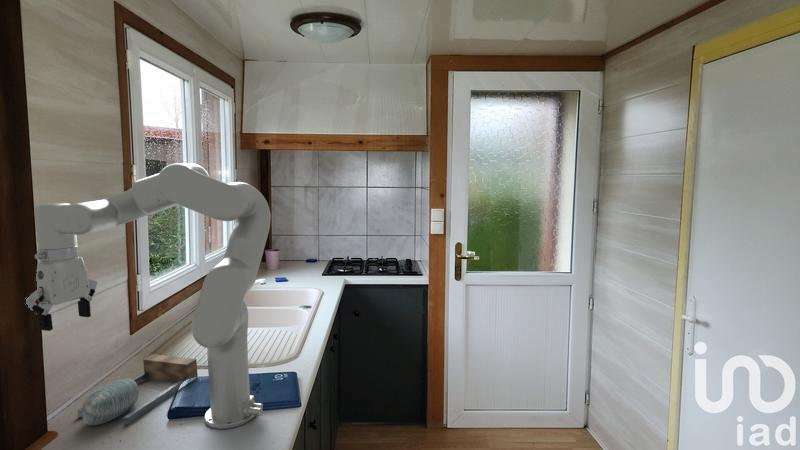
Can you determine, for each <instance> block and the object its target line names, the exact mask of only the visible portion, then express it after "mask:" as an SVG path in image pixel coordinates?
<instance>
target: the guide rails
mask: <svg viewBox="0 0 800 450" xmlns="http://www.w3.org/2000/svg"><path fill="white" fill-rule="evenodd" d="M132 380H133V381H135V382H136V384H137V385H138V386H139V385H141V384H142V383H144V382H145V381H147V380H149V379H148V373H147V372H144V371H143V372H142V373H140V374H139V375H137V376H135V377H133V378H132ZM186 380H188V378H187V377H184V378H183V379H181V380H180V381H178V382H177V383H176V382H174V384H172V385H171V386H169V387H168V388H166V389H165V390H163V391H162V392H160V393H158V394H157V395H156V396H153V397H152V398H151V399H149V400H148V401H146V402H144V403H143V404H142V405H140V406H137V408H136V409H134V410H132V411H131V412H129V413H128V414H126V415H125V416H123V425H124V426H129V425H131V424H132V423H134V422H135V421H137V420H138V419H140V418H141V417H143V416H144V415H146V414H148V412H150V411H152V410H153V409H155V408H156V407H157V406H159V405H161V404H162V403H163V402H164V401H166V400H167V399H168V400H169V398H170V397H172V396H173V395H175V394H176V393H177V392H176V391H177V390H178V388H179V386H180V385H181V384H182V383H183V382H184V381H186ZM76 411H77V417H79V418H80V419H83V418H82V407H80V408H79V409H77V410H76Z"/></svg>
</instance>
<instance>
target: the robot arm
mask: <svg viewBox="0 0 800 450" xmlns="http://www.w3.org/2000/svg"><path fill="white" fill-rule="evenodd" d="M176 206H181V207H184V208H187V209H188V210H190V211H193V212H196V213H198V214H201V215H203V216H206V217H208V218H212V219H213V220H215V221H220V222H233V221H234V226H233V227H232V230H231V234H230V236H229V239H228V243H227V245H226V249H225V251H224V255H223V258H222V260H221V261H220V262H219V263H218V264H216V265H214V266H213V267H212V268H211V269H210V270H209V271H208V273H207V275H206V276H205V278H204V280H203V283H202V287H201V289H200V293H199V296H198V299H197V303H196V306H195V310H194V313H193V316H192V319H191V320H192V321H191V333H192V337H193V339H194V340H195V342H196V343H197V344H199V346H201V347H202V348H206V349H207V351H206V352H207V370H208V371H207V373H208V383H209V385H208V386H209V387H208V388H209V401H210V402H209V403H210V408H209V409H208V410H206V412H205V414H204V422H205V424H206V425H207V426H208V427H210V428H212V429H220V430H221V429H222V430H223V429H233V428H236V427H239V426H242V425H245V424H247V423H248V422H250V421H252V420H253V419H254V418H255V417H256V416H257V417H261V416H262V415H263V409H264V403H262V402H255V396H254V395H251V392H250V390H251V388H250V373H249V371H250V370H249V353H248V352H249V350H248V349H249V347H248V345H249V344H248V331H249V330H248V329H249V311H248V306H247V304H246V302H245V301H244V299H245V296H246V294H248V292H249V291H250V290H251V289H252V288H253V286H254V284H255V283H256V282H257V281H256V280H257V275H258V272H259V268H260V265H261V261H262V258H263V254H264V251H265V247H266V243H267V241H268V240H267V239H268V236H269V232H270V227H271V211H270V210H271V209H270V207H269V203H268V201H267V200H266V198H265V196H264V195H263V194H262V193H261V192H260V191H259V190H258V189H257V187H255V186H253V185H251V184H249V183H246V182H244V181H243V182H242V181H235V182H233V181H232V182H229V183H228V182H227V183H226V182H223V181H220V180H219V179H215V178H213V177H210V175H209V173H208V171H207V170H206V169H205V168H204V167H203V166H201V165H199V164H196V163H192V162H187V163H185V162H183V163H182V162H181V163H180V162H178V163H177V162H176V163H172V164H169V165H166V166H165V167H164V168H162V169H161V170H160V171H159V173H155V174H153V175H150V176H146V177H144V178H141V179H138V180H136V181H134V182H133V183H132V185H131V188H129V189H127V190H126V191H122V192H120V193H117V194H115V195H111V196H109V197H106V198H102V199H97V200H91V201H84V202H77V203H68V202H47V203H46V202H45V203H39V204H37V205H36V206H35V207H34V210H33V211H34V219H35V228H36V240H37V247H38V250H37V251H38V253H36V254H34V258H35V259H36V260H39V262H37V266H36V272H37V273H36V274H35V275H36V277H35V282H36V281H37V290H36V289H35V290H34V291H33V292H31V294H30V296H29V295H28V296H29V297H28V296H27V297H28V298H27V297H26V298H27V299H26V298H25V299H26V304H27V305H28V307H27V308H28V309H29V308H30V310H29V311H31V312H32V311H33V312H32V313H34V314H35V313H36V314H35V315H37V318H38V319H37V320H38V327H39V329H40V331H47V332H50V331H52V330H54V329H53V327H54V326H53V319H52V318H53V317H52V314H51V313H50V311H51V310H52V308H53V306H55V305H57V306H58V305H61V304H65V303H68V302H69V303H70V302H71V301H74V300H77V299H78V301H77V310H78V317H80V318H81V317H82V318H90V317H92V316H91V315H92V314H91V304H90V303H91V302H92V299H93V296H94V295H95V293H96V290H95V289H96V288H97V285H98V281H97V280H94V279H89V277H88V276H89V275H88V272H87V267H86V264H85V262H84V259H83V257H82V256H79V247H78V239H77V236H86V235H91V234H95V233H97V232H102V231H106V230H111V229H113V228H116V227H119V226H121V225H124V224H127V223H130V222H133V221H136V220H138V219H140V218H144V217H149V216H151V215H154V214H156V213H159V212H162V211H165V210H167V209H170V208H173V207H176ZM36 301H37V302H38V304H37V302H36ZM26 304H25V305H26Z"/></svg>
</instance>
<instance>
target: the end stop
mask: <svg viewBox="0 0 800 450" xmlns="http://www.w3.org/2000/svg"><path fill="white" fill-rule="evenodd" d="M197 361H198V360H197V358H192V357H190V358H189V357H182V356H172V355H162V354H156V353H153V354H150V355H148V356H147V357H146V358H145V357H144V358H143V361H142V363H143V373H144V372H147V373H148V379H147V380H154V381H163V382H168V383H169V382H171V383H177V382H178V381H180V380H181V379H183V378H184V377H187V378H188V379H191V378H194V377H198V365H197V364H198V363H197ZM198 378H199V377H198Z"/></svg>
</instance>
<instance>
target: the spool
mask: <svg viewBox="0 0 800 450" xmlns="http://www.w3.org/2000/svg"><path fill="white" fill-rule="evenodd" d="M132 379H133V378H132ZM132 379H131V378H121V379H116V380H114V381H111V382H108V383H106V384H103V385H102V386H99V387H98V388H97V389H95V390H94V391H92V392H91V393H90V394H89V395H88V396H87V397H86V398H85V400H84V402H83V404H82V407H81V408H82V418H81V419H83V421H84V423H85V424H88V425H89V426H99V425H103V424H107V423H108V422H110V421H113V420H115V419H116V418H118V417H120V416H122V415H123V414H125V413H126V412H128V411H129V410H131V408H132V407H133V406H134V405H135V404H136V402H137V401H138V397H139V385H137V384H136V382H135V381H133V380H132Z"/></svg>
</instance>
